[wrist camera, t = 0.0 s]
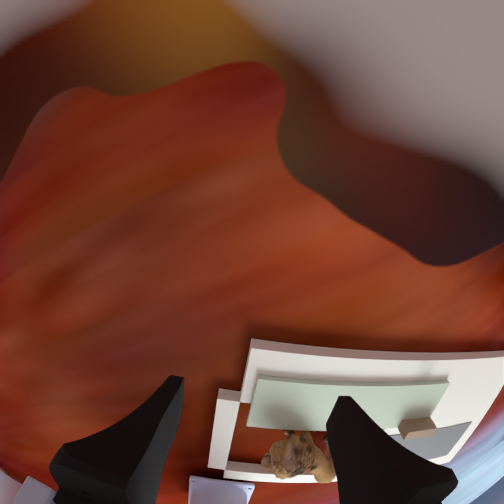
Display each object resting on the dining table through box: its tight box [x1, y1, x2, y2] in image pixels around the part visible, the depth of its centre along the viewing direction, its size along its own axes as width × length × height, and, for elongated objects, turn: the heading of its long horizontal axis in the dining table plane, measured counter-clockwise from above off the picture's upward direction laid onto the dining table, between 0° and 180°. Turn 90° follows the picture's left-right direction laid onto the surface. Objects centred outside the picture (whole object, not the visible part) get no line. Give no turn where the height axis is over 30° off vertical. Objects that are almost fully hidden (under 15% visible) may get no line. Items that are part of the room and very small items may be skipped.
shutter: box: [247, 375, 450, 440], centre depth 23 cm, size 6×20×3 cm, turn 80°
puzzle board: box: [208, 338, 504, 483], centre depth 26 cm, size 20×36×2 cm, turn 81°
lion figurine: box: [260, 430, 336, 483], centre depth 24 cm, size 12×4×7 cm, turn 47°
